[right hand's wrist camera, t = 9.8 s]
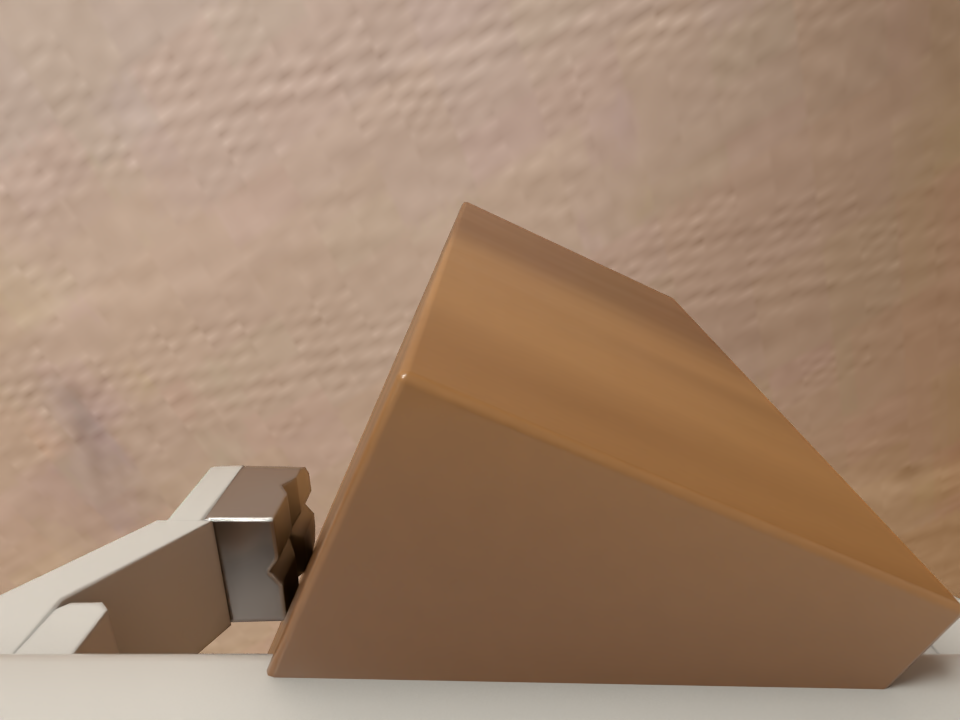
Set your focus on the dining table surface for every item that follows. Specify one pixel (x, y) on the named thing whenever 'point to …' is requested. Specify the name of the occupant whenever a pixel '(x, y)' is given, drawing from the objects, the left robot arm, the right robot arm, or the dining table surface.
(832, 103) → the dining table surface
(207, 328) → the dining table surface
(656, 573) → the bar
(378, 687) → the right robot arm
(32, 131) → the dining table surface
